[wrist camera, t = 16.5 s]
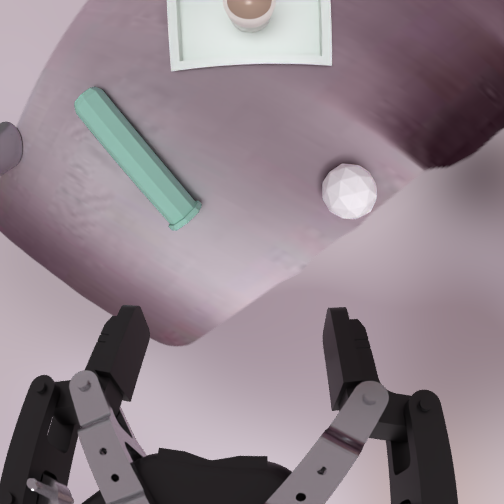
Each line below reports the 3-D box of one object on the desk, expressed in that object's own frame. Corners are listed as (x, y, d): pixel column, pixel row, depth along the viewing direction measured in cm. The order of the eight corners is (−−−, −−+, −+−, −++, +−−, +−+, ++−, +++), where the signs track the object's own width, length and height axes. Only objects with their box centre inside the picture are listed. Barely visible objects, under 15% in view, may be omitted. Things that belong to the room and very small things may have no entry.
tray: (176, 70, 35) (171, 71, 32) (171, -19, 27) (166, -23, 24) (327, 65, 34) (331, 65, 31) (324, -26, 26) (328, -31, 23)
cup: (232, 34, 31) (225, 25, 23) (228, 1, 28) (220, -18, 20) (272, 30, 31) (278, 20, 22) (268, -3, 28) (272, -23, 20)
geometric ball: (344, 162, 44) (380, 154, 37) (357, 212, 46) (394, 211, 38) (304, 172, 42) (339, 164, 34) (319, 226, 43) (356, 228, 36)
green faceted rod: (61, 106, 31) (172, 236, 42) (93, 75, 31) (204, 209, 42) (73, 109, 37) (171, 225, 48) (102, 83, 36) (199, 201, 47)
